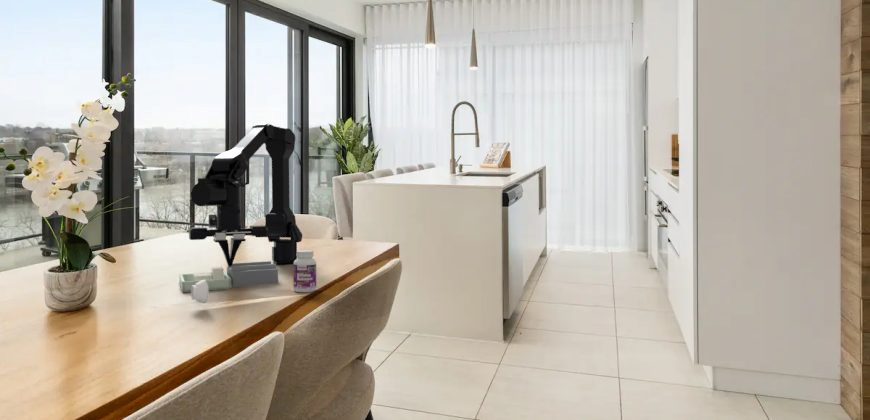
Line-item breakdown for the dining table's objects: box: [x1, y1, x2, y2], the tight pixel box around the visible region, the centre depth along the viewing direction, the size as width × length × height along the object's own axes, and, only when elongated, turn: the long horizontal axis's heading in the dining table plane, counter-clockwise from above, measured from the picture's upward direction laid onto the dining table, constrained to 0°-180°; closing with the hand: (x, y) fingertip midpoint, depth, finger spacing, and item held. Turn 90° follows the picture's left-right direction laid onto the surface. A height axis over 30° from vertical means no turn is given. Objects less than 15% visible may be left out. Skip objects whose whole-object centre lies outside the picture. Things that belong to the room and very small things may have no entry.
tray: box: [179, 271, 232, 293], centre depth 142 cm, size 11×14×2 cm
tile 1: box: [192, 272, 212, 281], centre depth 141 cm, size 4×4×2 cm
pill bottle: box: [292, 249, 317, 293], centre depth 135 cm, size 5×5×10 cm
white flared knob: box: [190, 280, 210, 304], centre depth 120 cm, size 5×3×5 cm, turn 33°
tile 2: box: [210, 266, 225, 280], centre depth 143 cm, size 4×4×2 cm
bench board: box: [226, 260, 279, 288], centre depth 147 cm, size 11×12×5 cm
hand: (229, 265), depth 144 cm, fingers closed
